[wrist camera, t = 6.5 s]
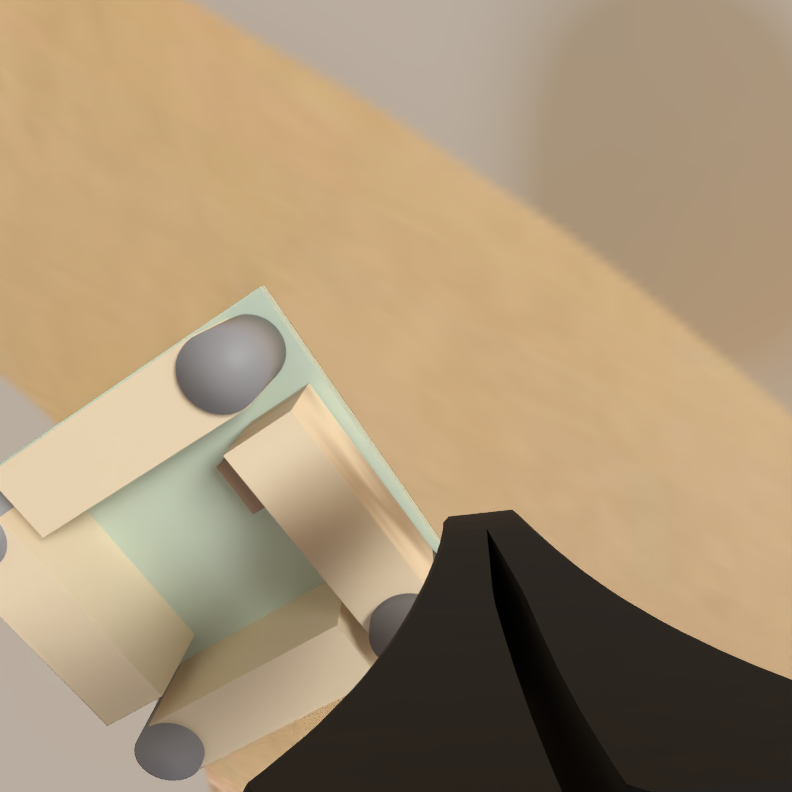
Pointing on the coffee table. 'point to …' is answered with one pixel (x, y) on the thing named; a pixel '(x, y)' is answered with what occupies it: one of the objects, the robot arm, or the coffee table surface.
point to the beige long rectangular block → (335, 511)
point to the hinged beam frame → (181, 550)
